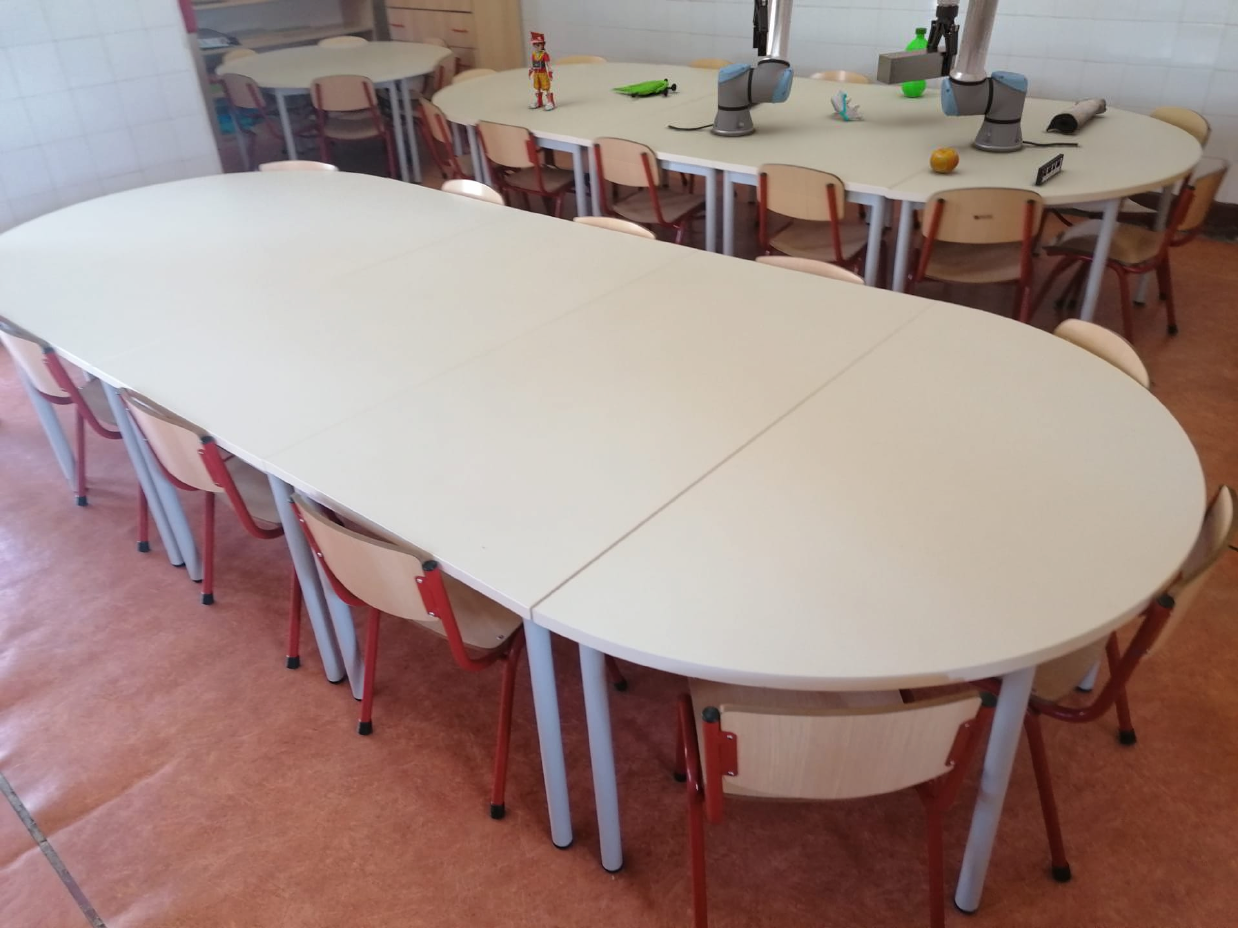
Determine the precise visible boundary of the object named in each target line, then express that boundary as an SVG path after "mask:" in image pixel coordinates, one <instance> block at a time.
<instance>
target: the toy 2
mask: <svg viewBox="0 0 1238 928" xmlns="http://www.w3.org/2000/svg"><path fill="white" fill-rule="evenodd" d="M669 85H670V83H669V79H668V78H664V79H663V80H649V81H644V82H640V83H634V84H629V85H627V86H621V87H613V88H612V89H613V90H616V91H619V92H623V93H627V94H628V93H629V94H631V95H630V96H631V98H632V99H634V98H636V96H637V95H650V94H652V93H654V94H658V93H662V95H663V96H665V97H667V96H668V95H669V90H671V91H672V92H676V91H677V84H676V83H672V84H671V86H669Z"/></svg>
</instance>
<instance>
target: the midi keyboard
mask: <svg viewBox="0 0 1238 928" xmlns="http://www.w3.org/2000/svg"><path fill="white" fill-rule="evenodd" d="M1064 157H1065V153H1059V154H1058V155H1056V156H1055V157H1052V159H1051V160H1049V161H1047V162H1045V164H1042V165H1041V166H1039V167H1038V169H1037V175H1036V179H1035V186H1040V185H1042V183H1044V182H1045V181H1047V180H1048V179H1049V178H1051V177H1052V176H1054V175H1055V174H1056V173H1058V172H1060V171H1061V170H1062V165H1063V161H1064Z"/></svg>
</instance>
